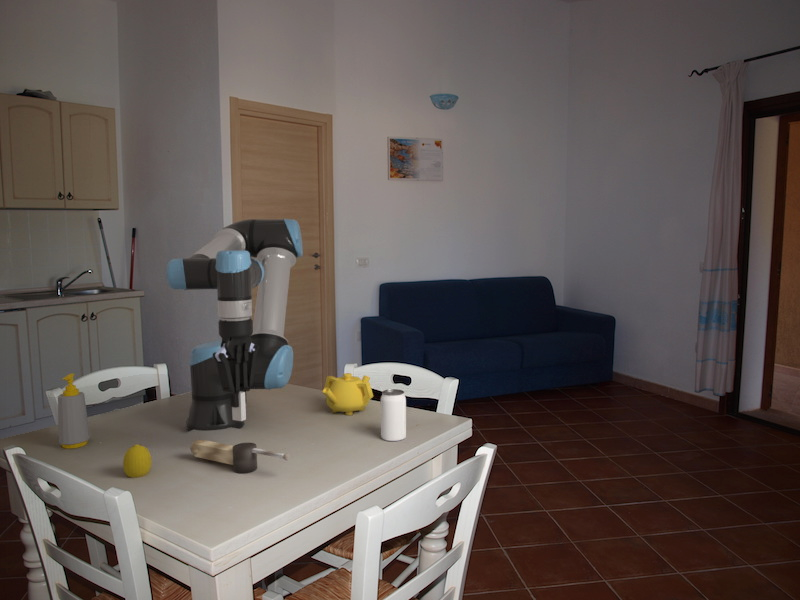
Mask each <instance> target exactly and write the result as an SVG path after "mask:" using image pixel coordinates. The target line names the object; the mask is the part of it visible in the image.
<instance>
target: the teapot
mask: <svg viewBox="0 0 800 600" xmlns="http://www.w3.org/2000/svg"><path fill="white" fill-rule="evenodd" d="M370 379H371V378H370V377H369V376H368V375H363V376H362V378H360V377H358V376H353V374H352V373H351V372H350V373H349V372H344V373H343V374H342V376H339V377H336V376H333V375H328V376H326V379H325V383H324V388H323V389H322V393H323V394H324V396H325V397H326V401H325V402H326V404H327V406H328V407H329V408H330V409H331V413H333V414H334V413H340V412H343V413H344V412H345V416H347V417H351V416H353V415H354V412H357V411H358V412H363V411H365V410H366V409H365V408H366V407H367V406H368V404H369V402H370V401H371V399H372V398H373V397H374V393H373V390H372V385H371V383H370Z"/></svg>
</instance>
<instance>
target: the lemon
mask: <svg viewBox="0 0 800 600" xmlns="http://www.w3.org/2000/svg"><path fill="white" fill-rule="evenodd" d="M152 460H153V459H152V455H151V453H150V451H149V449H148V448H147V447H146V446H144V445H139V444H138V443H136V444H134V445H133V446H131V447H129V448H128V449H127V450H126V452H125V454H124V456H123V460H122V462H123V463H122V465H123V466H122V467H123V471H124V473H125V475H126V476H127V477H128V478H132V479H133V478H134V479H135V478H142V477H145V476H146V475H147V474H149V472H150V471H151V468H152V462H153V461H152Z"/></svg>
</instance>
